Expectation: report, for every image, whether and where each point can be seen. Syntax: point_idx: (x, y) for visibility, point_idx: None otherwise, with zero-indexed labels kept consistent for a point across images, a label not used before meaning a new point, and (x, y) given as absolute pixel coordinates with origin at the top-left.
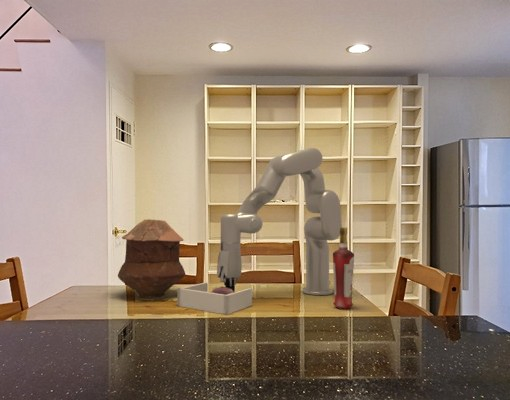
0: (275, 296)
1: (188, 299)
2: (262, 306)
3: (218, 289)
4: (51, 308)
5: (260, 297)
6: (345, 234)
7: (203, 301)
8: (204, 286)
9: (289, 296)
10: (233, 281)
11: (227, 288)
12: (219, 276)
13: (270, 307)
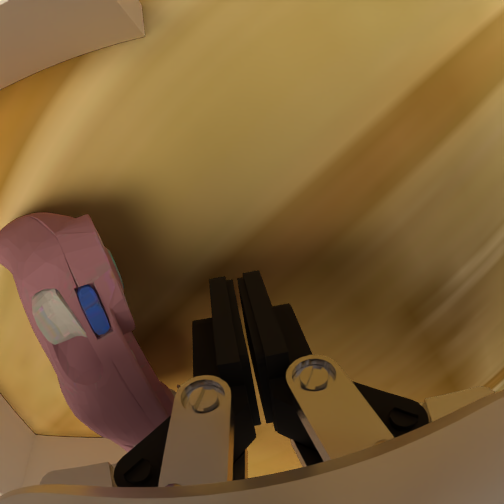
0: (481, 350)
1: None
2: (259, 458)
3: (54, 367)
4: None
5: (447, 330)
6: None
7: None
8: (24, 18)
9: (487, 375)
10: (304, 463)
11: (139, 440)
12: (61, 501)
13: (267, 473)
